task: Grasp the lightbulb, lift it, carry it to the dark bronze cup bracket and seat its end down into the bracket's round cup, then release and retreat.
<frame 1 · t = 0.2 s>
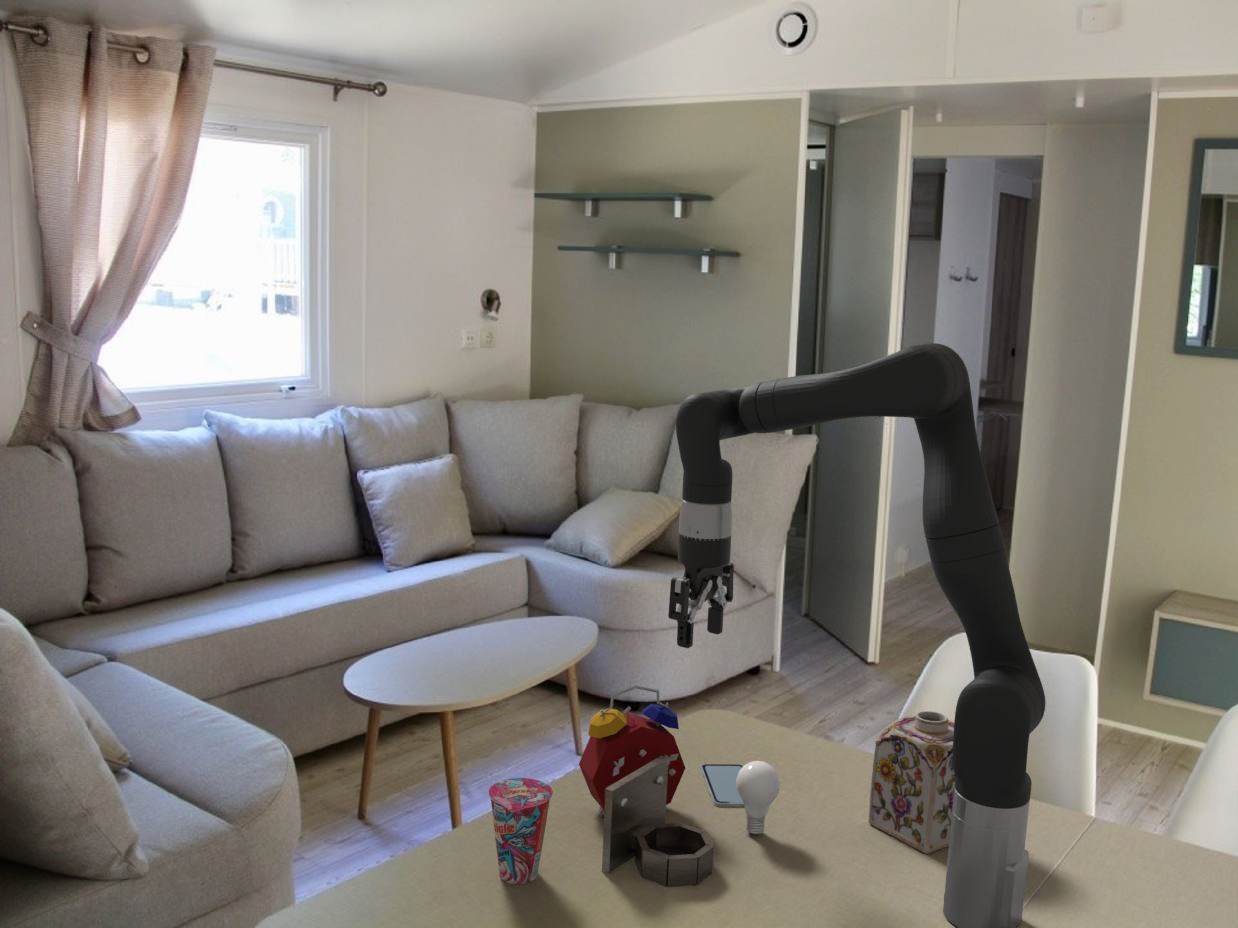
hand: (700, 639, 179), 28 cm above the table, fingers open, 8 cm apart
decorative jar: (921, 831, 183), on the table
alarm clock: (632, 816, 184), on the table
bracket: (673, 867, 169), on the table
lightbulb: (754, 834, 180), on the table
cup: (519, 877, 165), on the table
smartphone: (729, 788, 196), on the table
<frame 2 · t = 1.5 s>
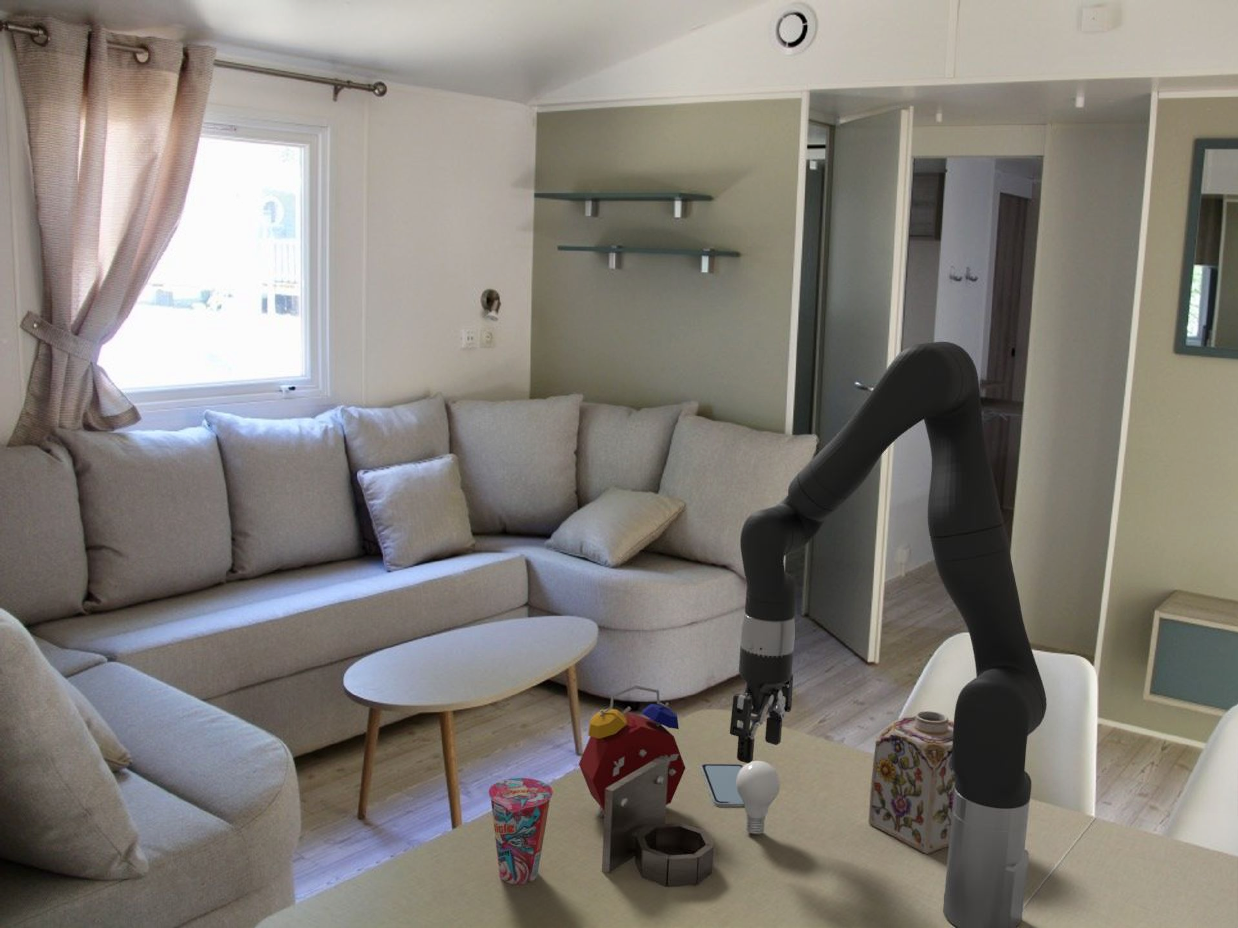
hand: (759, 751, 178), 13 cm above the table, fingers open, 8 cm apart
nothing on the table moved.
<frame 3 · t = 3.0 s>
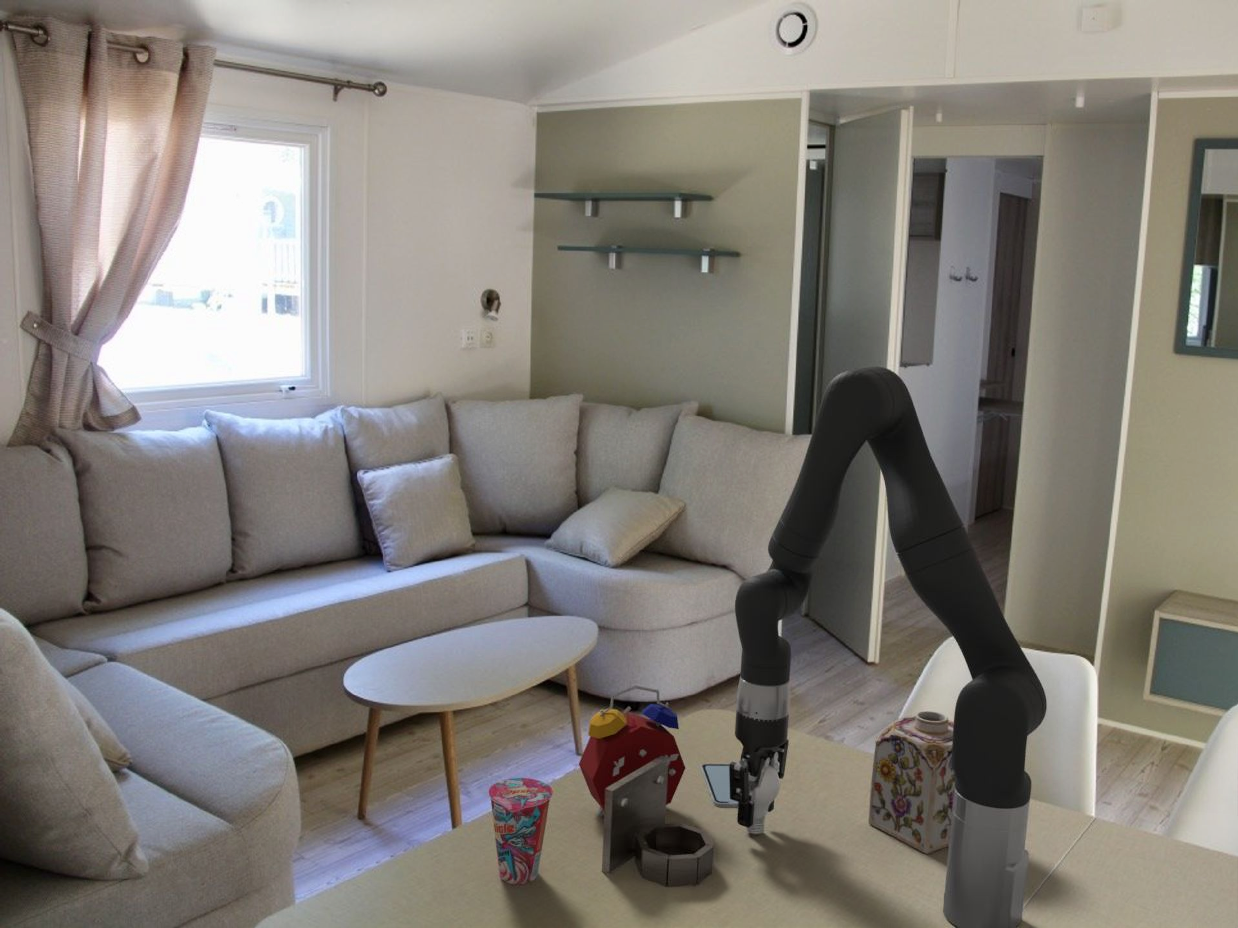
hand: (755, 816, 180), 3 cm above the table, fingers closed on lightbulb, 6 cm apart
lightbulb: (754, 834, 180), on the table, touching gripper
everything else where it was.
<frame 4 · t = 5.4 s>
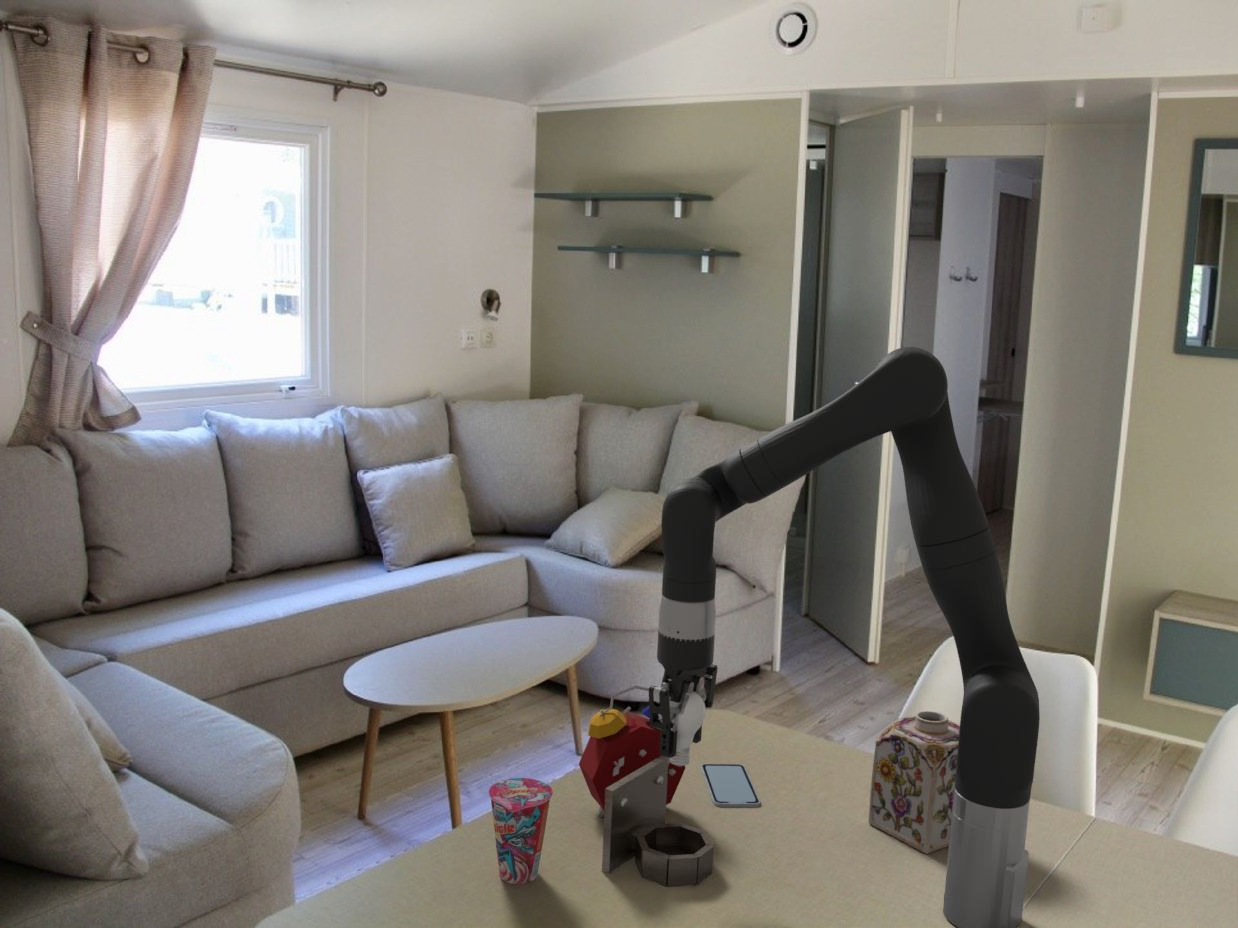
hand: (680, 747, 166), 17 cm above the table, fingers closed on lightbulb, 6 cm apart
lightbulb: (679, 767, 167), point 15 cm above the table, touching gripper
everything else where it was.
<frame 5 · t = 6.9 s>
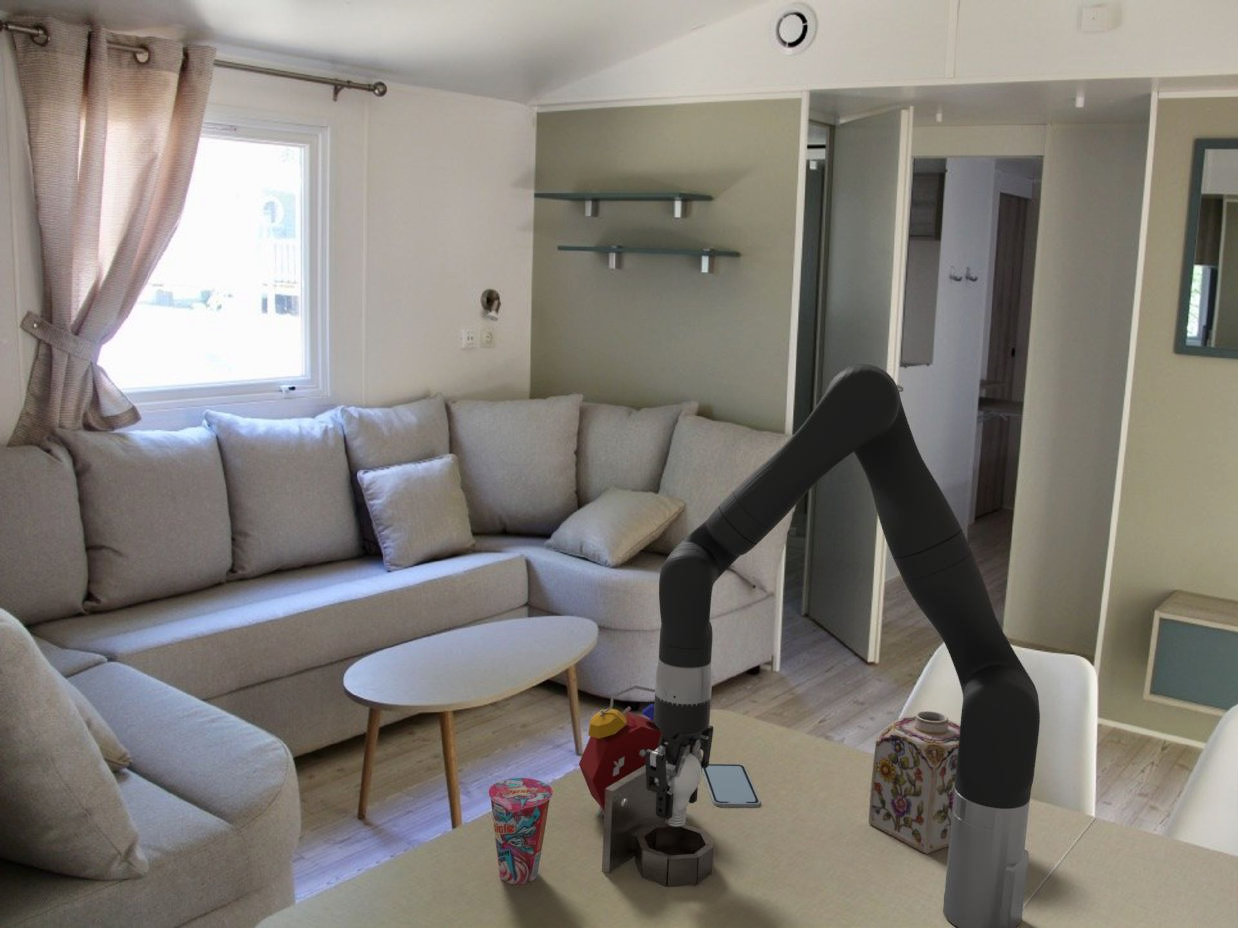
hand: (676, 808, 168), 9 cm above the table, fingers closed on lightbulb, 6 cm apart
lightbulb: (675, 827, 168), point 6 cm above the table, touching gripper
everything else where it was.
when the fingers open (5 cm above the table, at t = 8.1 s): lightbulb drops 2 cm, resting on bracket.
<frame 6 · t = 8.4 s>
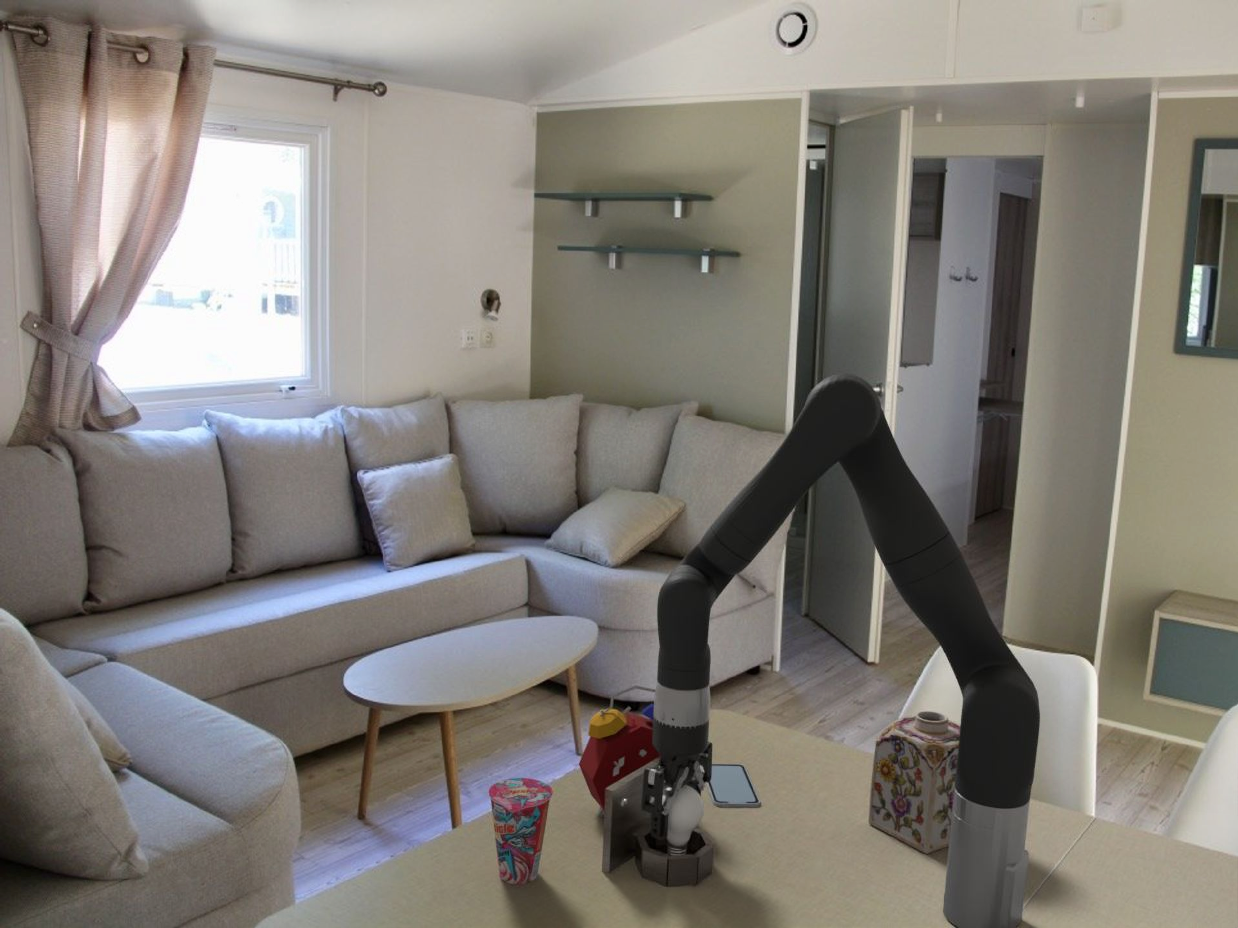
hand: (675, 826, 168), 6 cm above the table, fingers open, 8 cm apart
lightbulb: (675, 862, 169), point 1 cm above the table, touching bracket
everything else where it was.
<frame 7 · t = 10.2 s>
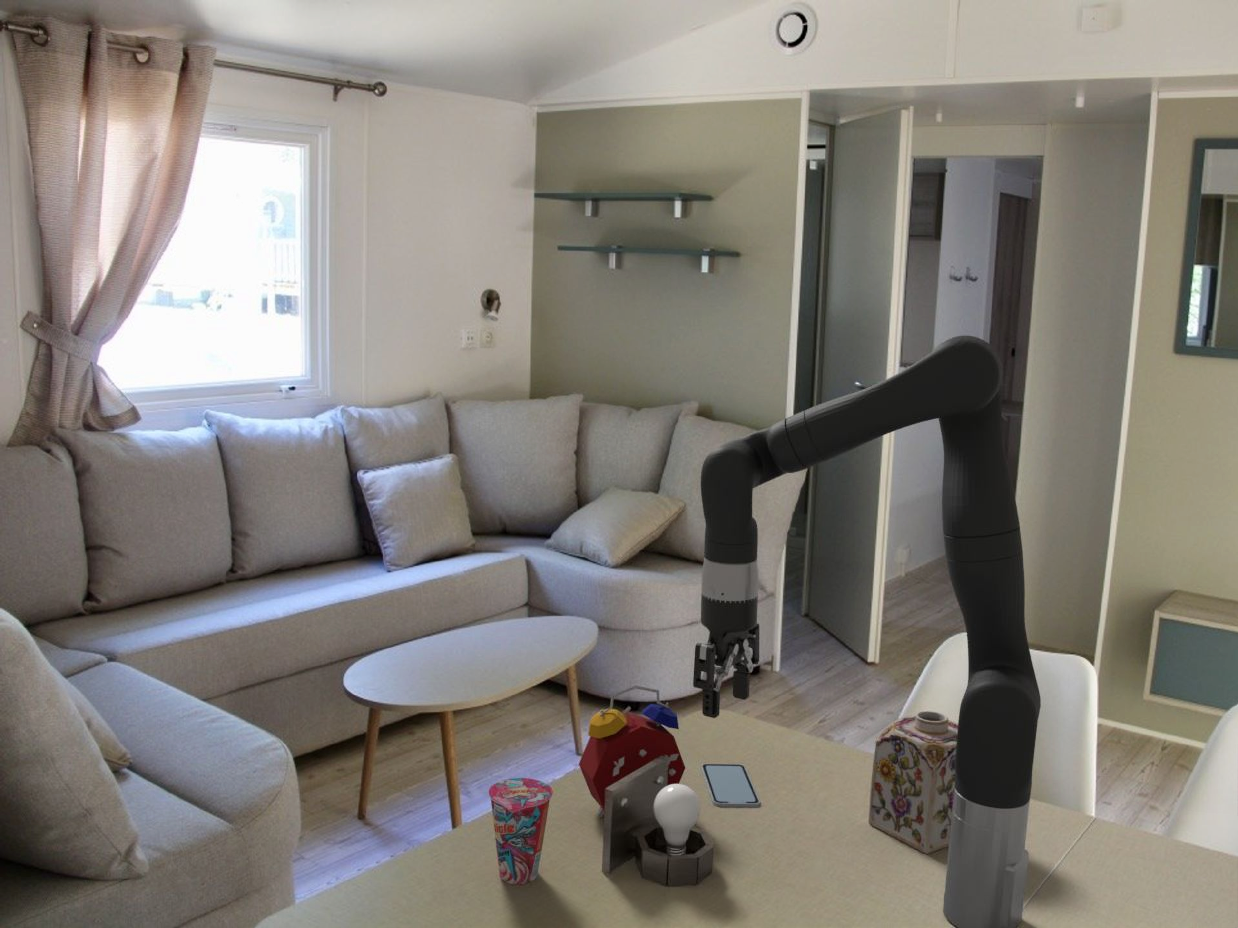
hand: (726, 706, 167), 23 cm above the table, fingers open, 8 cm apart
nothing on the table moved.
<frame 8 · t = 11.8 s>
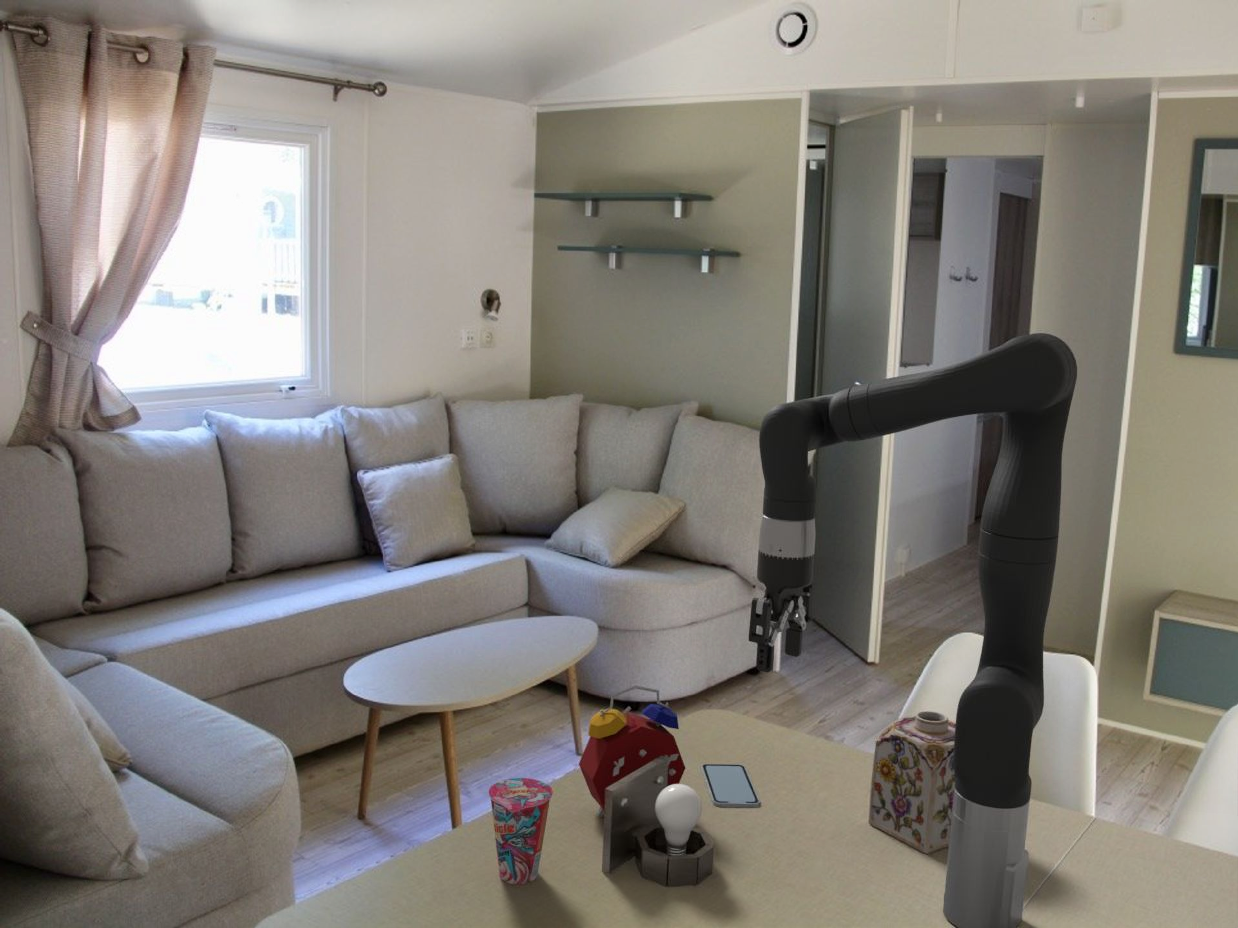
hand: (778, 662, 170), 28 cm above the table, fingers open, 8 cm apart
nothing on the table moved.
at the end: lightbulb 0.3 cm from the bracket (horizontally); lightbulb point 0.8 cm above the table; the gripper is holding nothing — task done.
